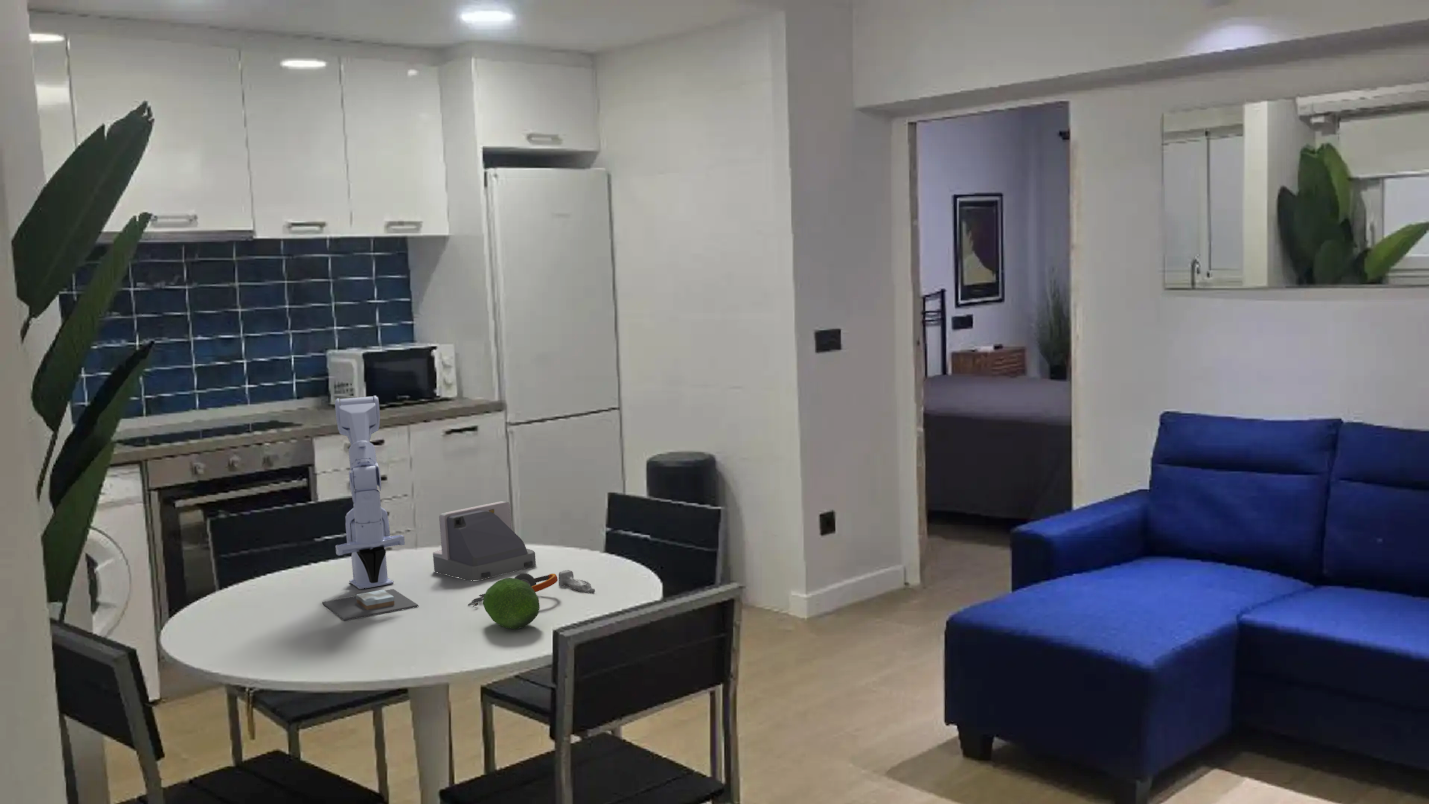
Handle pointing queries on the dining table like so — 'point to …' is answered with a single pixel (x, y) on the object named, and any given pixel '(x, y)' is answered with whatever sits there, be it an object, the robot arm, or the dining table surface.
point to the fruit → (511, 603)
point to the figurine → (574, 582)
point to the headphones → (531, 581)
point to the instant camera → (480, 543)
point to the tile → (375, 599)
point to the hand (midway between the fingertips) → (373, 582)
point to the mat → (353, 610)
